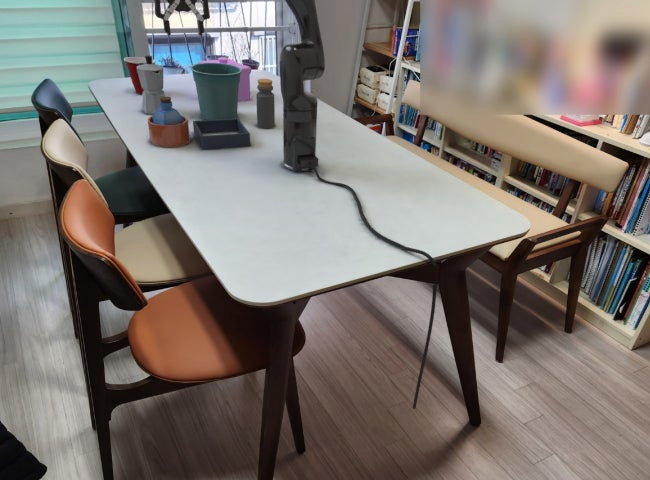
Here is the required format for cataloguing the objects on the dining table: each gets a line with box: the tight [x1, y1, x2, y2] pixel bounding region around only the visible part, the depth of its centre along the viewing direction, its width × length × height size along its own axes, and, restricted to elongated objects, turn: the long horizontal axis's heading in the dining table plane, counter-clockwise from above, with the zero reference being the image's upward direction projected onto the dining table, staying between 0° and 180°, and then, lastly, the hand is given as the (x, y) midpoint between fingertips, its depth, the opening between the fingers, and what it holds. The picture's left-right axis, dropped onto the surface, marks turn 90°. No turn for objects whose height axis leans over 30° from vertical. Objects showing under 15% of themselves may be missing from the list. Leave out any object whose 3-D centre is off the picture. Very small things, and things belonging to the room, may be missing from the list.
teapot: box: [187, 56, 252, 102], centre depth 197 cm, size 15×25×14 cm, turn 131°
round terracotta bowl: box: [146, 114, 191, 148], centre depth 158 cm, size 11×11×6 cm
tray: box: [192, 117, 251, 150], centre depth 163 cm, size 14×14×4 cm
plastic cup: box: [123, 56, 157, 95], centre depth 194 cm, size 11×11×12 cm
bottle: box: [255, 78, 276, 130], centre depth 174 cm, size 6×6×15 cm
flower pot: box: [189, 62, 242, 120], centre depth 178 cm, size 16×16×16 cm
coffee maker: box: [137, 55, 166, 116], centre depth 176 cm, size 15×9×18 cm, turn 42°
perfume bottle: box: [152, 95, 183, 125], centre depth 156 cm, size 6×6×12 cm
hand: (184, 35), depth 149 cm, fingers open, 8 cm apart
